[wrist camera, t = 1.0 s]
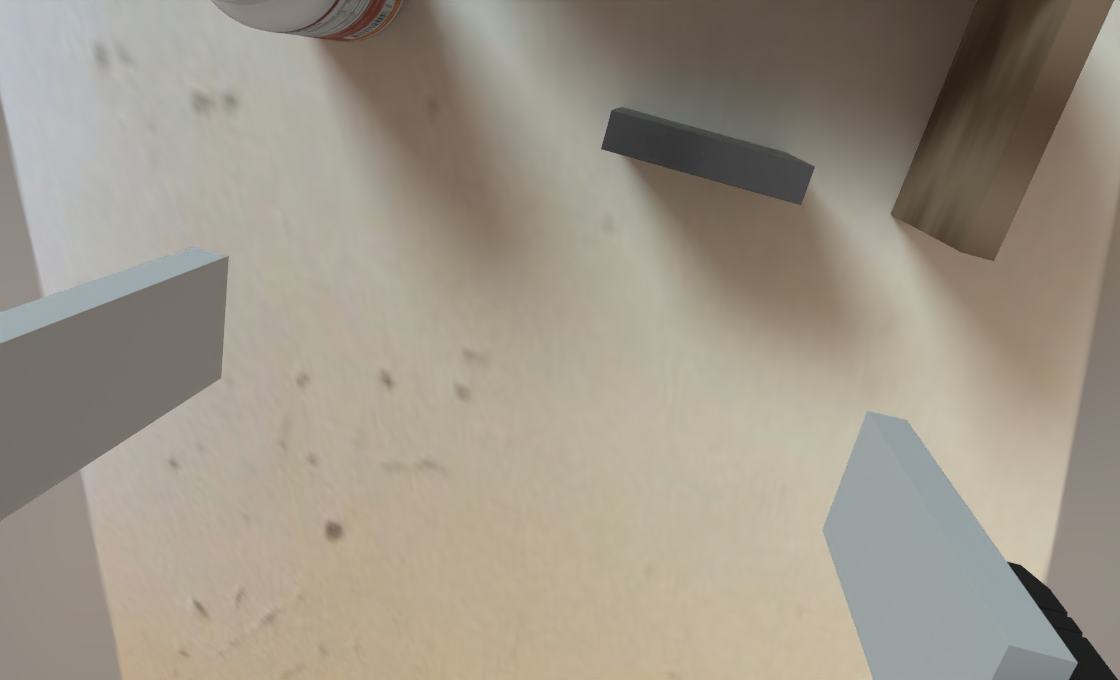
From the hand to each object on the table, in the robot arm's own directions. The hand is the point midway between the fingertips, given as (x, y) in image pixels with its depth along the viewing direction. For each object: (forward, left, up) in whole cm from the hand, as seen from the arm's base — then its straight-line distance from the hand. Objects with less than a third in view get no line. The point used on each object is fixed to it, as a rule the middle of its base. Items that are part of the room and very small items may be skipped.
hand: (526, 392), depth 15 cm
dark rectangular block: (-4, +3, -24) cm, 24 cm away
